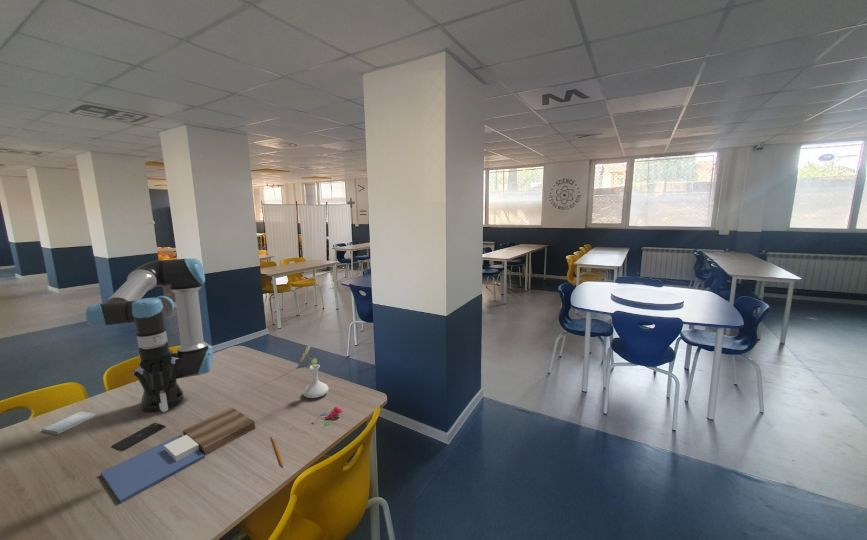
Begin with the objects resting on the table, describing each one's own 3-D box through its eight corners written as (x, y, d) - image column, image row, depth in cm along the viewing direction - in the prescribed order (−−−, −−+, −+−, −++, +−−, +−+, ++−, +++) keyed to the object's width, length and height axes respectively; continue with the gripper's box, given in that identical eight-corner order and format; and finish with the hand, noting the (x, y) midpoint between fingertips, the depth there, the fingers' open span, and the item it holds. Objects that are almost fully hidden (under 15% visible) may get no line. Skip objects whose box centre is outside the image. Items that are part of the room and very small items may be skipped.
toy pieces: (329, 408, 148) (329, 399, 147) (346, 417, 141) (345, 408, 140) (305, 422, 138) (304, 412, 137) (321, 432, 132) (320, 422, 131)
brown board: (183, 437, 129) (182, 430, 128) (232, 413, 144) (231, 407, 143) (205, 455, 119) (204, 447, 119) (255, 428, 134) (254, 421, 133)
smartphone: (109, 445, 124) (154, 421, 138) (110, 447, 124) (154, 423, 138) (122, 450, 121) (166, 425, 135) (122, 452, 122) (167, 427, 136)
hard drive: (57, 431, 131) (94, 413, 143) (41, 429, 133) (79, 410, 145) (58, 435, 132) (95, 416, 144) (42, 432, 133) (80, 414, 145)
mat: (101, 474, 111) (100, 472, 111) (181, 436, 129) (180, 434, 129) (120, 503, 100) (120, 500, 100) (204, 457, 118) (204, 454, 118)
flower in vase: (314, 385, 166) (311, 338, 162) (333, 390, 162) (330, 341, 158) (295, 399, 154) (290, 348, 150) (315, 404, 150) (311, 351, 146)
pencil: (270, 438, 128) (280, 468, 113) (271, 435, 128) (282, 465, 113) (272, 438, 129) (283, 469, 113) (274, 435, 129) (284, 465, 113)
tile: (164, 450, 120) (163, 445, 120) (187, 439, 126) (186, 434, 126) (176, 461, 115) (175, 456, 115) (199, 449, 121) (198, 444, 120)
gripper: (132, 354, 104) (144, 423, 108) (181, 340, 114) (190, 404, 119) (124, 349, 108) (136, 415, 112) (172, 336, 119) (181, 397, 123)
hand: (164, 409), depth 115 cm, fingers closed
